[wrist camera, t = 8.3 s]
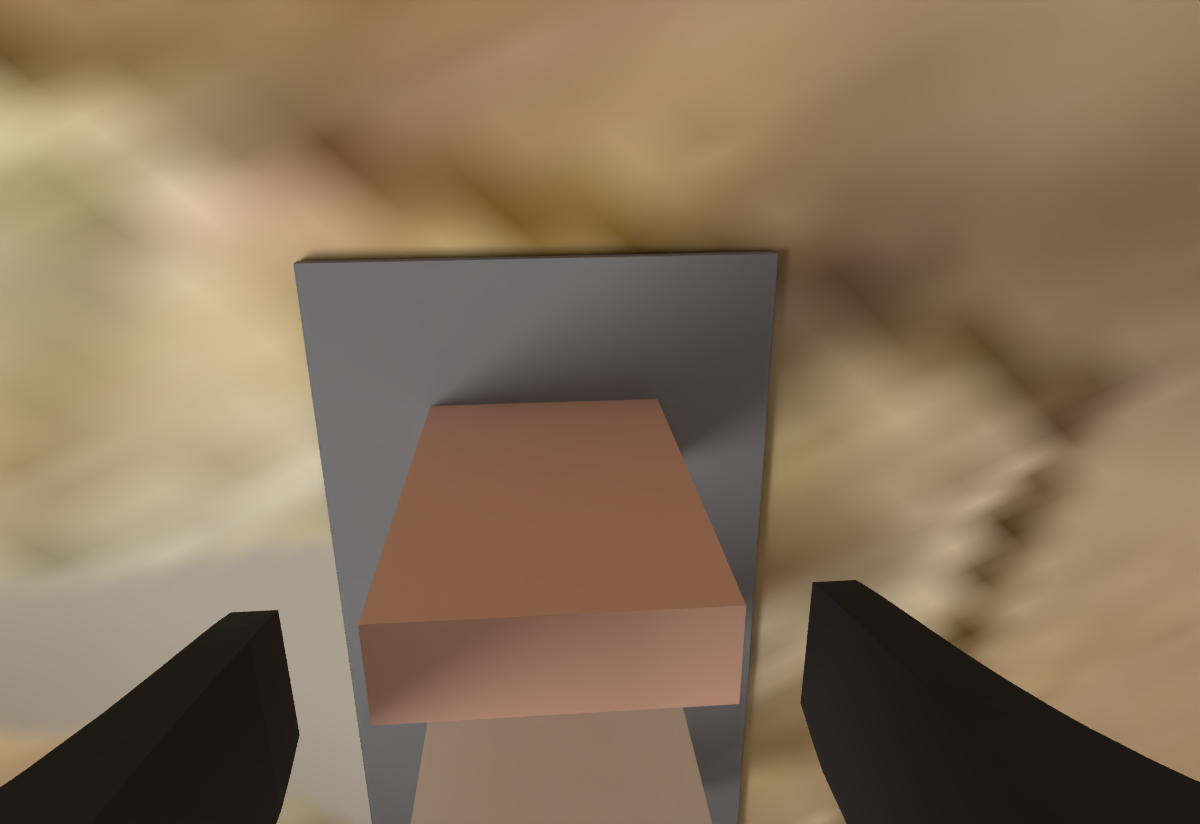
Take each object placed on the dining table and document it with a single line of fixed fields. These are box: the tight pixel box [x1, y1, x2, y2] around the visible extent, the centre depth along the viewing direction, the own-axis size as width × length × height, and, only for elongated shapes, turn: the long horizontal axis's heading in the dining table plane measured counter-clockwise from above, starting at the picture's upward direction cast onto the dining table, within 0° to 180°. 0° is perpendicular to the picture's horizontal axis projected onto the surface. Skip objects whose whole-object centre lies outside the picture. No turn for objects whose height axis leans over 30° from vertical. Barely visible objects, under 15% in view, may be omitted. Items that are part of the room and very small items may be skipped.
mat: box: [294, 251, 778, 824], centre depth 22 cm, size 28×10×1 cm, turn 0°
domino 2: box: [411, 707, 712, 824], centre depth 16 cm, size 2×5×8 cm, turn 90°
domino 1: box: [358, 399, 746, 726], centre depth 14 cm, size 2×5×8 cm, turn 90°
